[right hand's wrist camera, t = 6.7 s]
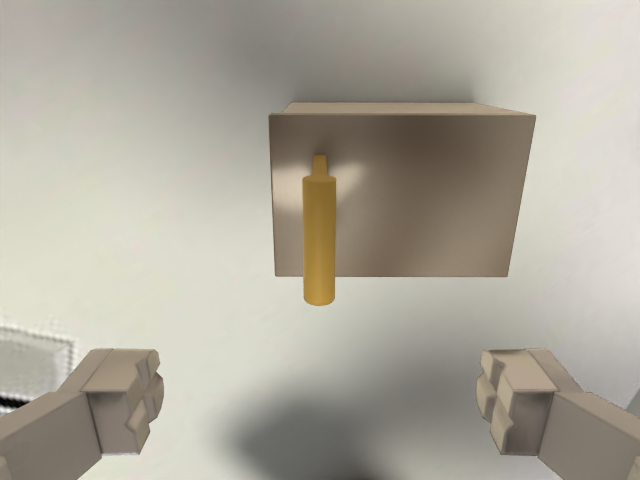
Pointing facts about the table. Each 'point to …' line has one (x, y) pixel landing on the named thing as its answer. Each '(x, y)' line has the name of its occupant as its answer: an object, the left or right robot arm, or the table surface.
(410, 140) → the lid
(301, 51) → the table surface
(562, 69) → the table surface
